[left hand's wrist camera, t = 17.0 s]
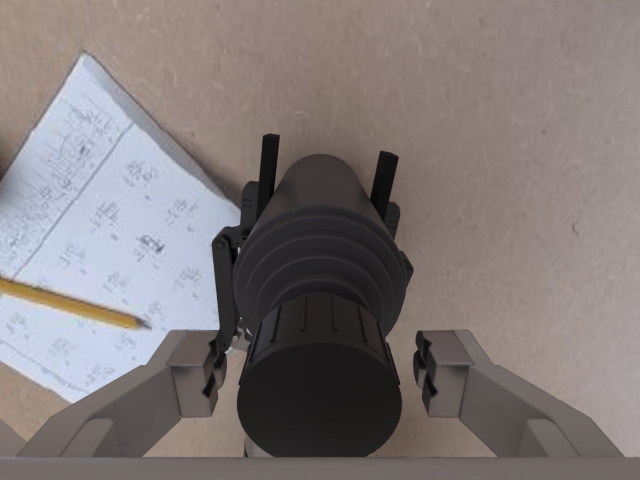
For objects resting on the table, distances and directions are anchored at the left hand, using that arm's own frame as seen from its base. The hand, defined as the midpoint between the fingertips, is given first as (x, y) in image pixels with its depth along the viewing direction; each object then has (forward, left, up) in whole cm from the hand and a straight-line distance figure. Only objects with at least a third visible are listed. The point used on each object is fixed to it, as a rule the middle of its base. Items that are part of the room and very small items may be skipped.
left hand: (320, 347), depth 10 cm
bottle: (0, 0, -21) cm, 21 cm away
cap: (0, 0, +2) cm, 2 cm away
